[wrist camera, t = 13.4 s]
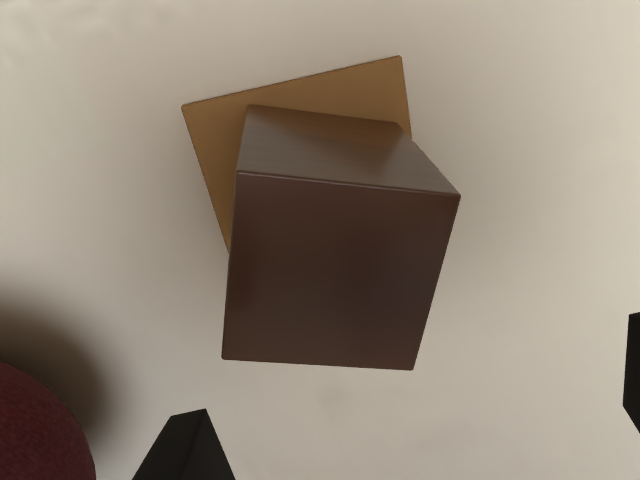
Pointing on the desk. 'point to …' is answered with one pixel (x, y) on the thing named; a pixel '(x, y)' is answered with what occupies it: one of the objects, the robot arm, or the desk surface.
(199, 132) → the mat
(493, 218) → the desk surface
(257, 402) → the desk surface
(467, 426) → the desk surface
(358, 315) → the block
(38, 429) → the decorative ball
